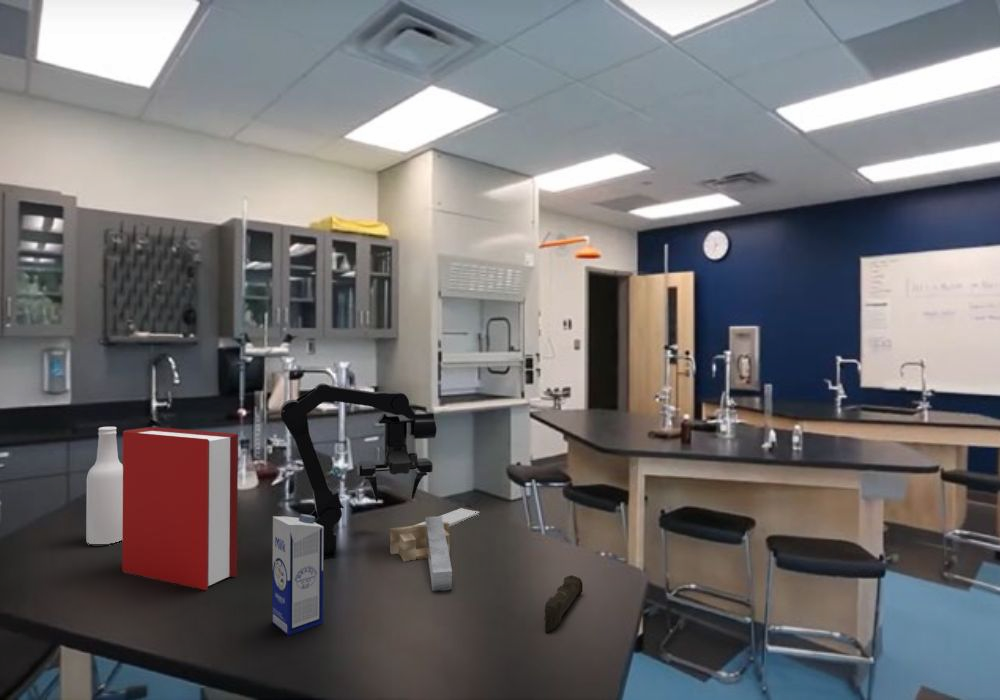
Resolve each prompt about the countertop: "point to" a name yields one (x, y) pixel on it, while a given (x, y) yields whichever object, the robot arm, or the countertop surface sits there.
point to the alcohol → (105, 492)
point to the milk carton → (297, 573)
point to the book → (180, 505)
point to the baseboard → (457, 516)
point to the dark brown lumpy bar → (561, 601)
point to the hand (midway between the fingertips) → (394, 500)
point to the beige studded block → (412, 541)
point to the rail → (438, 554)
